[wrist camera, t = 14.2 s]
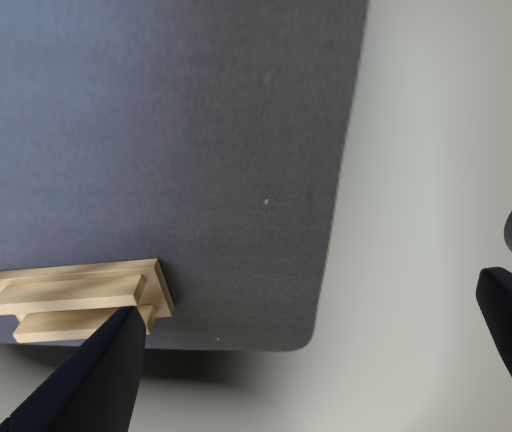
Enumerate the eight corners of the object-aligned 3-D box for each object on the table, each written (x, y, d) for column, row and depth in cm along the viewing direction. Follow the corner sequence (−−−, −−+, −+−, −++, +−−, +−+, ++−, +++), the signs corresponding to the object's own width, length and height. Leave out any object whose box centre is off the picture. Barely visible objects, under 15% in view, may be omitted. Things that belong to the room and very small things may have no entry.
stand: (157, 257, 26) (146, 288, 24) (174, 306, 29) (166, 338, 26) (-2, 271, 27) (-28, 301, 25) (30, 317, 30) (8, 348, 27)
